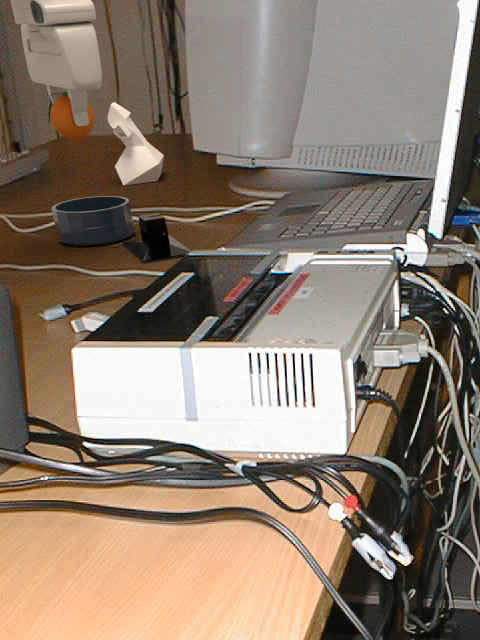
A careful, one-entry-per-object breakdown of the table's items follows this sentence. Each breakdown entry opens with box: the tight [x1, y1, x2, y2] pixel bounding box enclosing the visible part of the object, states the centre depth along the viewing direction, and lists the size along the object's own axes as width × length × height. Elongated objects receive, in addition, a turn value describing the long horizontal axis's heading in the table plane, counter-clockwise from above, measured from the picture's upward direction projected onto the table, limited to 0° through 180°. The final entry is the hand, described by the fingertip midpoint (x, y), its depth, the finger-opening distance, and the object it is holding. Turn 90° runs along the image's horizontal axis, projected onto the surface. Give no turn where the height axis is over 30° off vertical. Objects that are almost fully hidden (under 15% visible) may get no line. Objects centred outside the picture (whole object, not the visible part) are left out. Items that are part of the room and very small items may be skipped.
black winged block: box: [122, 212, 192, 264], centre depth 127 cm, size 12×7×5 cm, turn 27°
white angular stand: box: [107, 101, 165, 186], centre depth 173 cm, size 8×14×14 cm, turn 6°
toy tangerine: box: [49, 91, 95, 140], centre depth 122 cm, size 6×6×6 cm
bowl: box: [51, 195, 135, 247], centre depth 134 cm, size 11×11×5 cm
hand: (73, 123), depth 122 cm, fingers closed on toy tangerine, 5 cm apart
